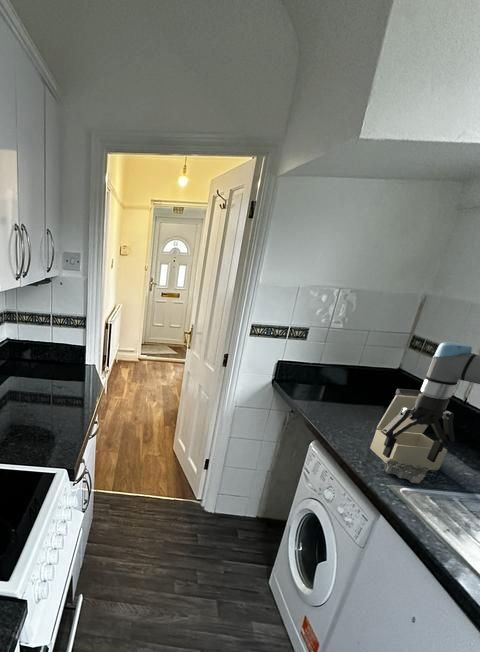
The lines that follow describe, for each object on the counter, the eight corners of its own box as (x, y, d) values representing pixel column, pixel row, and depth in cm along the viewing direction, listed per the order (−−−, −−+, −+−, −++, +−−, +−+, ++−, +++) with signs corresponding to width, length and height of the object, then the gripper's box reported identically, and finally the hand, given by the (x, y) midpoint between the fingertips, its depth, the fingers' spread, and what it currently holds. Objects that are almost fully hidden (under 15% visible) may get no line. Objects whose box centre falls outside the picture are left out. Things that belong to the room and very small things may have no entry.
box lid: (445, 400, 138) (433, 386, 144) (396, 396, 139) (386, 383, 145) (423, 433, 147) (412, 419, 153) (377, 429, 148) (368, 415, 154)
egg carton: (425, 479, 132) (431, 468, 130) (417, 486, 128) (422, 474, 126) (389, 464, 140) (393, 454, 138) (380, 470, 136) (384, 459, 134)
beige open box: (438, 470, 138) (447, 449, 135) (389, 466, 140) (397, 445, 136) (414, 452, 151) (422, 433, 148) (369, 448, 152) (376, 429, 149)
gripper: (470, 394, 125) (441, 456, 134) (384, 387, 127) (361, 448, 136) (488, 403, 119) (457, 467, 127) (397, 395, 120) (373, 459, 129)
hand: (408, 458), depth 132 cm, fingers open, 13 cm apart
